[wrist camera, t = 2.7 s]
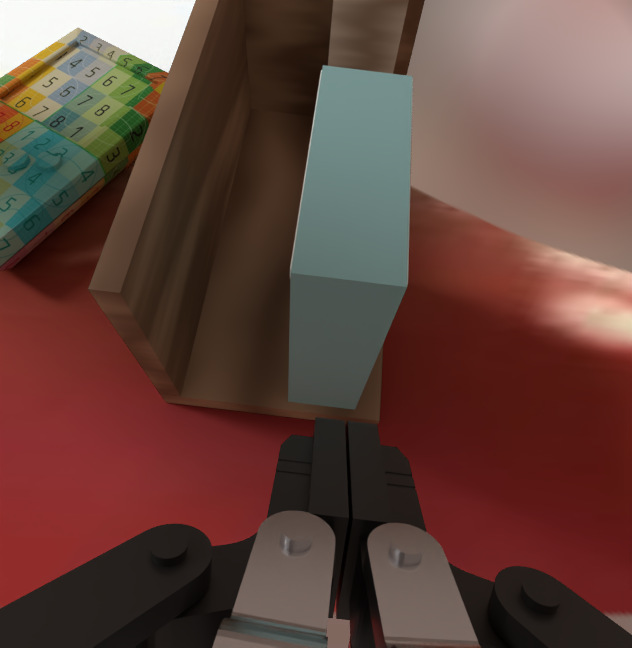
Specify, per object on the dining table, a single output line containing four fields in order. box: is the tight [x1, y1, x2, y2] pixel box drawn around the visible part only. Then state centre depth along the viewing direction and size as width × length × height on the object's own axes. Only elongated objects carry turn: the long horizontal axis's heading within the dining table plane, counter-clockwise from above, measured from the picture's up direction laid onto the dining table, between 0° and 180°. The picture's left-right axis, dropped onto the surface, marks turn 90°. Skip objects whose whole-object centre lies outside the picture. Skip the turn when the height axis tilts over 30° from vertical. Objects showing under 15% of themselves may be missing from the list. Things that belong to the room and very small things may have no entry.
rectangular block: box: [288, 65, 413, 410], centre depth 25 cm, size 4×11×14 cm, turn 174°
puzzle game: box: [0, 28, 169, 270], centre depth 37 cm, size 12×5×20 cm
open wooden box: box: [88, 0, 425, 424], centre depth 30 cm, size 13×26×14 cm, turn 174°
